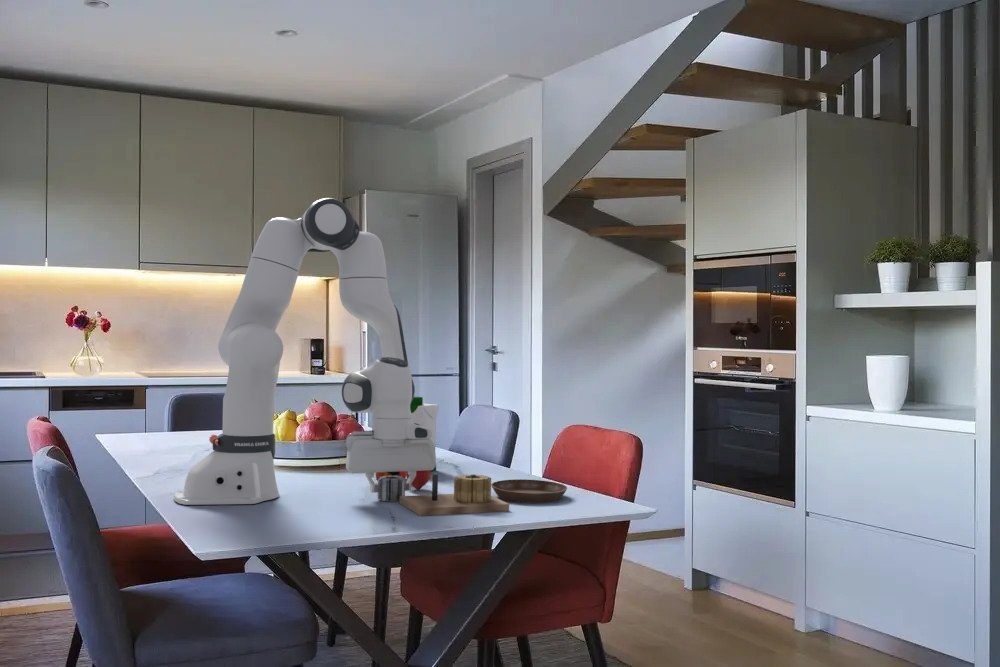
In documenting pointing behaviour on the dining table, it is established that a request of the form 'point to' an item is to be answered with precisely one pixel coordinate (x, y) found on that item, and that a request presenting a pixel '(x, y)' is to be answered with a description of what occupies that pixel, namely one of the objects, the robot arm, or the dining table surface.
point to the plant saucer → (529, 490)
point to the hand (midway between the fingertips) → (390, 491)
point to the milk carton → (424, 416)
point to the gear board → (457, 498)
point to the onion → (420, 478)
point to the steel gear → (391, 488)
